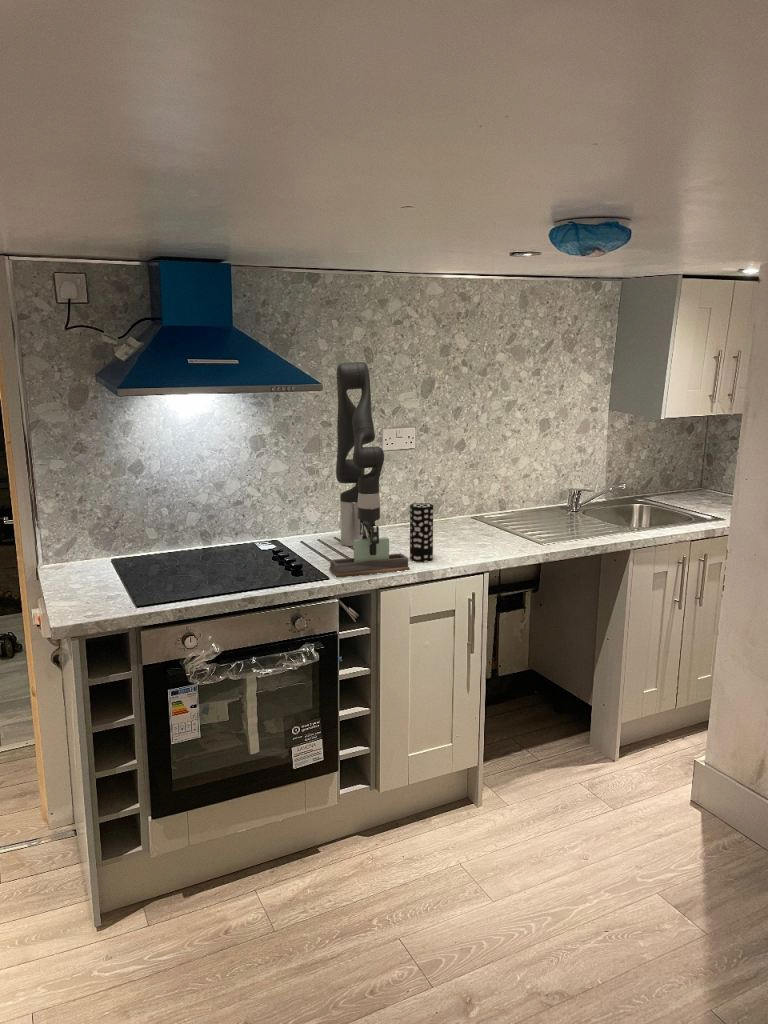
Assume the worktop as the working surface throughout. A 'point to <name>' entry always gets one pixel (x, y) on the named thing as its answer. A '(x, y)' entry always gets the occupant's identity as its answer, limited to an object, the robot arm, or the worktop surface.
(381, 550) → the door panel
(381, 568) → the door track
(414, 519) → the spotted tube
